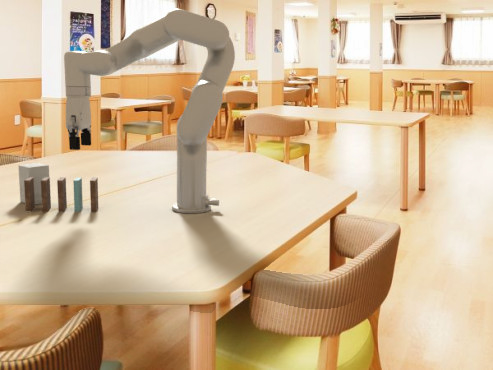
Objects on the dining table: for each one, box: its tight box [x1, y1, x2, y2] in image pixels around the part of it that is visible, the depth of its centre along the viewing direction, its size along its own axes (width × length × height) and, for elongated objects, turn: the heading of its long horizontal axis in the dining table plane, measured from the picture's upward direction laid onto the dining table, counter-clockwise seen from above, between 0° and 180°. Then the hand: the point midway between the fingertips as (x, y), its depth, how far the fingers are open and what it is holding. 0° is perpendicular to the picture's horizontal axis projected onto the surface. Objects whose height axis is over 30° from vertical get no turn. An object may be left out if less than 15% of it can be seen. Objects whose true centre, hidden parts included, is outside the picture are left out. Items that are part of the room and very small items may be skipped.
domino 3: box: [56, 177, 68, 213], centre depth 191 cm, size 2×5×10 cm, turn 6°
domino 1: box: [24, 177, 36, 212], centre depth 190 cm, size 2×5×10 cm, turn 6°
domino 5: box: [89, 177, 99, 213], centre depth 192 cm, size 2×5×10 cm, turn 5°
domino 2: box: [41, 176, 52, 213], centre depth 191 cm, size 2×5×10 cm, turn 5°
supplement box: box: [17, 162, 50, 206], centre depth 200 cm, size 7×7×13 cm
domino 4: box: [73, 177, 84, 213], centre depth 191 cm, size 2×5×10 cm, turn 4°
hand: (80, 147), depth 189 cm, fingers open, 9 cm apart
